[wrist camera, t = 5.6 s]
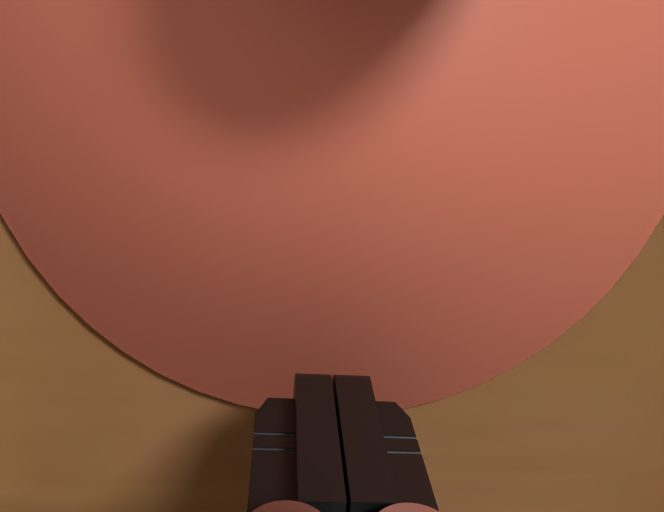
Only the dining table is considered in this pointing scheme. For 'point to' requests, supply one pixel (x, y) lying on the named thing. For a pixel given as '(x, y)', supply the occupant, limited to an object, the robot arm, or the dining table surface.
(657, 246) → the dining table surface
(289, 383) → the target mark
